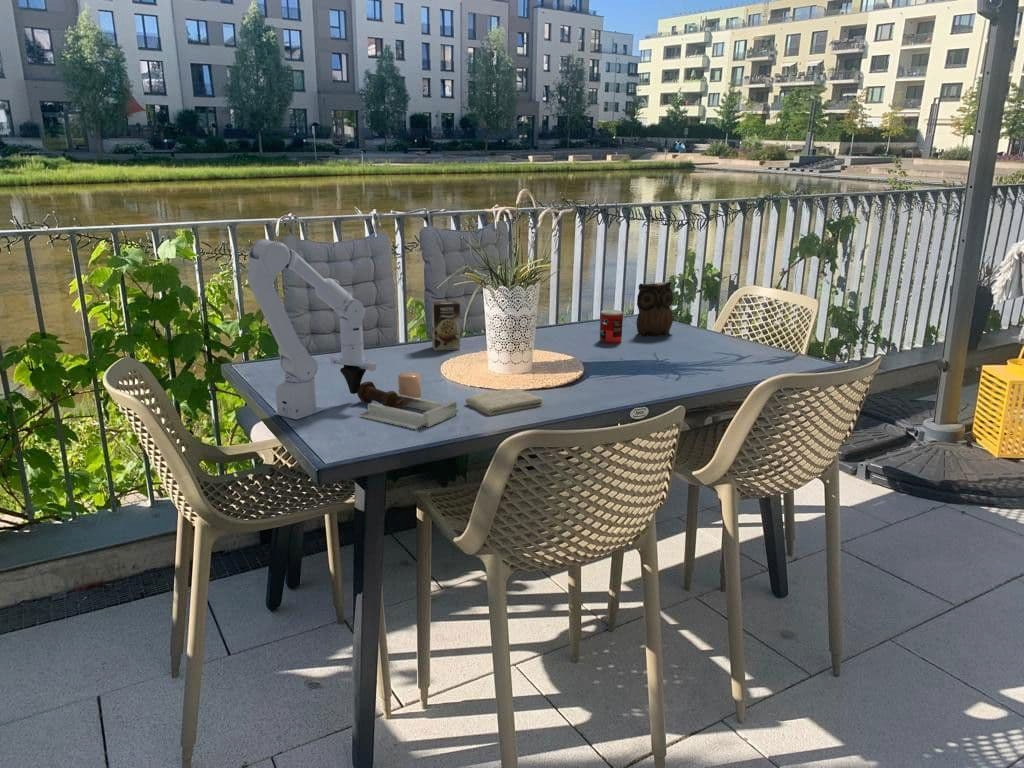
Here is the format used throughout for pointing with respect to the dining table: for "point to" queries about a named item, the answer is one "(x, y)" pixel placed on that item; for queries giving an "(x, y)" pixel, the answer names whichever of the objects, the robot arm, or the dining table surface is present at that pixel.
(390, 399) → the bolt
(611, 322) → the canned food
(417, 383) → the tan rounded block
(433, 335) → the cookie box
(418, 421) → the bracket
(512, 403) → the washcloth
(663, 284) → the owl
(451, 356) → the dining table surface
